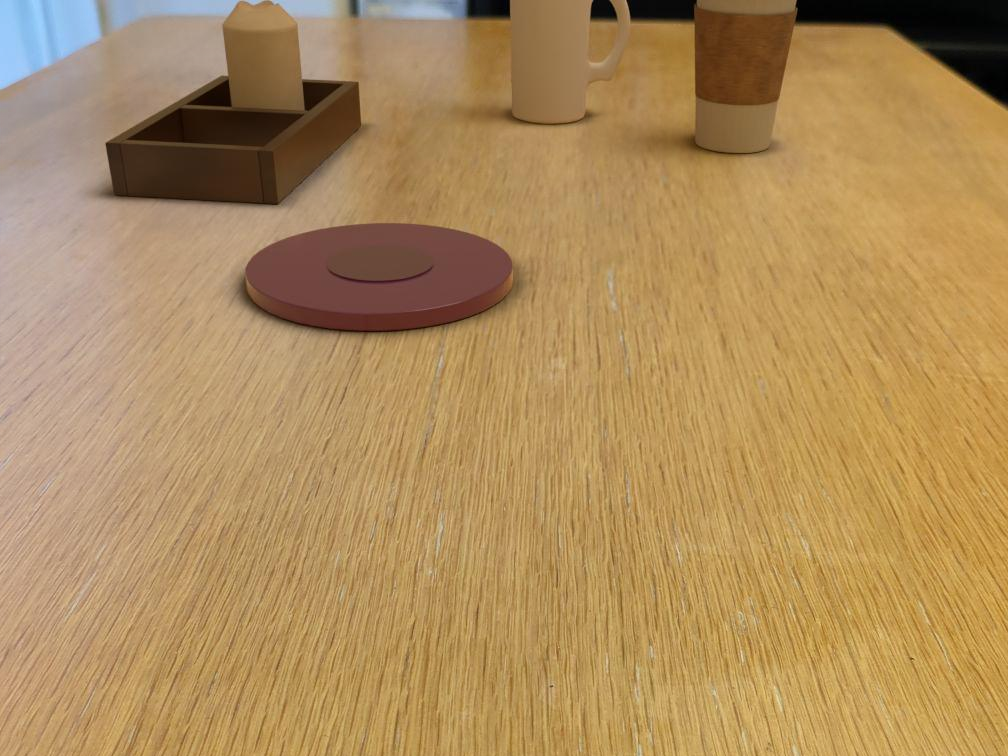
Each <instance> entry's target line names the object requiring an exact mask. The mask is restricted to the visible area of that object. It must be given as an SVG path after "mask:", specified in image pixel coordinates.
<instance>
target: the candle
mask: <svg viewBox="0 0 1008 756" xmlns="http://www.w3.org/2000/svg"><path fill="white" fill-rule="evenodd" d="M221 26H222V34H223V43H224V53H225V60H226V61H225V62H226V68H227V76H228V78H229V87H230V96H231V104H232V107H240V108H261V109H283V110H304V111H305V108H304V96H303V84H302V79H303V75H302V74H303V73H302V63H301V52H300V39H299V28H298V22H297V21H296V20H295V19H294V18H293V16H291V14H289V13H288V12H287V11H286V10H285V9H284V7H283V6H281V4H280V3H276V4H275V3H274V1H272V0H262V1H260V2H258V3H256V4H252V3H250V2H248V1H247V0H239V1H237V3H236V4H235V6H234V8H233V9H232V10H231V11H230V13H229V14H228V16H227V17H226V19H225V20H223V23H222V24H221Z"/></svg>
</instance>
